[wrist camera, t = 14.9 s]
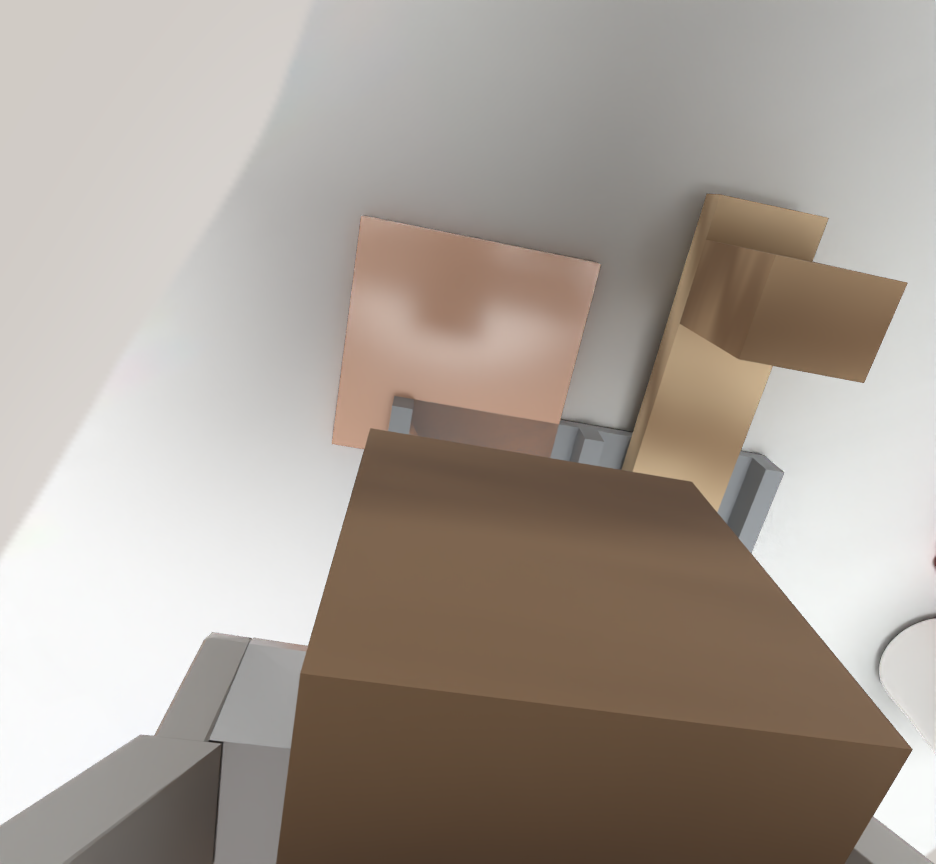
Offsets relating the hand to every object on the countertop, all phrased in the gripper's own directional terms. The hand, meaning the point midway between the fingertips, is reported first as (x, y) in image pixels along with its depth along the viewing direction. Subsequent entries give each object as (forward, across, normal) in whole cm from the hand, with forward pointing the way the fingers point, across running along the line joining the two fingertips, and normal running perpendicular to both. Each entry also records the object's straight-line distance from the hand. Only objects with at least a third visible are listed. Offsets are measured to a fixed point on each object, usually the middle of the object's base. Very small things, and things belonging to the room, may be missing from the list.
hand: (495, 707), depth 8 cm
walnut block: (+1, 0, 0) cm, 1 cm away
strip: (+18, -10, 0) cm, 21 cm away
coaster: (+18, 0, 0) cm, 18 cm away
